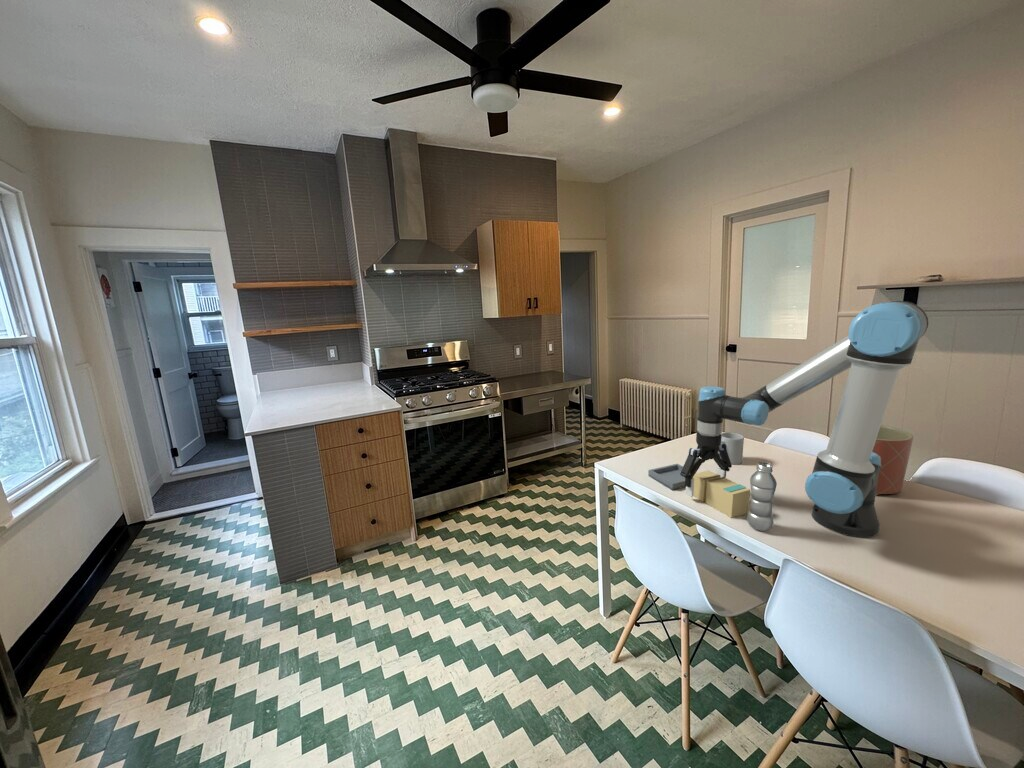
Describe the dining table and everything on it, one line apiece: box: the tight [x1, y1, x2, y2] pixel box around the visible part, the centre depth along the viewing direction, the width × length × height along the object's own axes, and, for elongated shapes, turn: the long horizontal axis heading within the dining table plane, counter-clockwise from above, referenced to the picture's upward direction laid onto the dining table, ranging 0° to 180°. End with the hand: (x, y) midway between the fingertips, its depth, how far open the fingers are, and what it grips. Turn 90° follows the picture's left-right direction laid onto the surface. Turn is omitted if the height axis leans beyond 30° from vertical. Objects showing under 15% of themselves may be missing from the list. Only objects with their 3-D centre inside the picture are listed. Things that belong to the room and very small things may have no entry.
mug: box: [718, 432, 745, 466], centre depth 159 cm, size 12×8×11 cm
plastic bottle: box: [746, 461, 778, 532], centre depth 112 cm, size 6×7×20 cm
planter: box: [872, 424, 914, 496], centre depth 134 cm, size 19×19×20 cm
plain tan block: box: [693, 470, 721, 503], centre depth 133 cm, size 5×7×8 cm
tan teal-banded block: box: [703, 477, 751, 519], centre depth 125 cm, size 11×7×8 cm, turn 20°
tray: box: [647, 463, 686, 491], centre depth 147 cm, size 13×14×2 cm
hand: (704, 491), depth 133 cm, fingers open, 13 cm apart
